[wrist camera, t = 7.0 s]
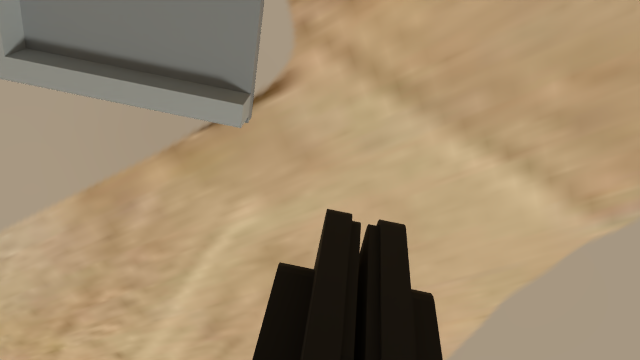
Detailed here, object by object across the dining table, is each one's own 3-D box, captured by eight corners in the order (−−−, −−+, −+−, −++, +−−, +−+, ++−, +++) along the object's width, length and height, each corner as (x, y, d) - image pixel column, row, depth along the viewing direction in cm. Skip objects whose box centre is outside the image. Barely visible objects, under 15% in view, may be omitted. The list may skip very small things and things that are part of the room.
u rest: (-14, -143, 26) (-57, -149, 24) (273, -85, 26) (262, -85, 24) (17, 69, 32) (-15, 83, 30) (251, 117, 32) (240, 135, 30)
